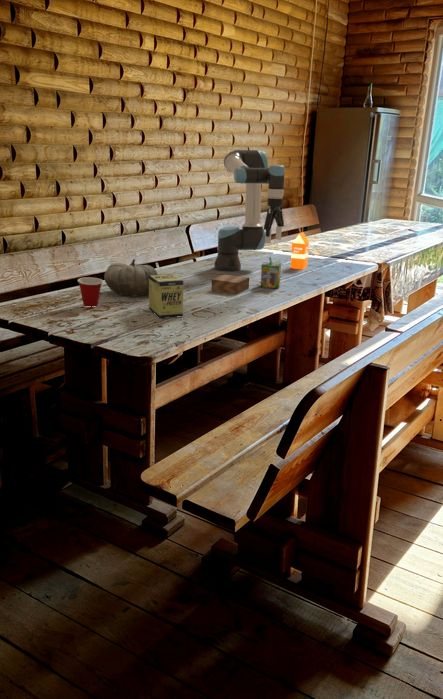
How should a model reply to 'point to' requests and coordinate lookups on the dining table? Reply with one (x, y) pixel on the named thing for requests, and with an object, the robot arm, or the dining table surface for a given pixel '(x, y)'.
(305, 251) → the orange juice
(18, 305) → the dining table surface
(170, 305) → the protein box
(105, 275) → the gourd
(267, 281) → the chalk box
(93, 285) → the plastic cup
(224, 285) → the walnut block
